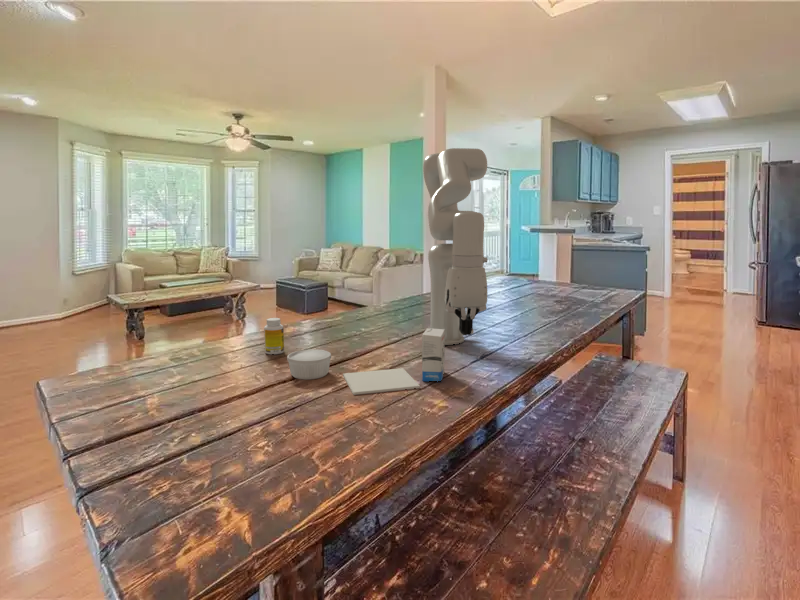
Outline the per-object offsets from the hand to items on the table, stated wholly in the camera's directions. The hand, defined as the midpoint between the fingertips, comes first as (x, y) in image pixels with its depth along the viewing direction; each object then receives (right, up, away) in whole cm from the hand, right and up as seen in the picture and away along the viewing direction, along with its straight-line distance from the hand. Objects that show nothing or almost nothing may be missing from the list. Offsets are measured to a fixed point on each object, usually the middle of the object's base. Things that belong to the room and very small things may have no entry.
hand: (465, 333), depth 124 cm
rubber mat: (-22, -12, -4) cm, 25 cm away
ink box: (-8, -11, 0) cm, 14 cm away
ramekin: (-40, -11, +2) cm, 42 cm away
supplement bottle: (-54, -7, +21) cm, 59 cm away
